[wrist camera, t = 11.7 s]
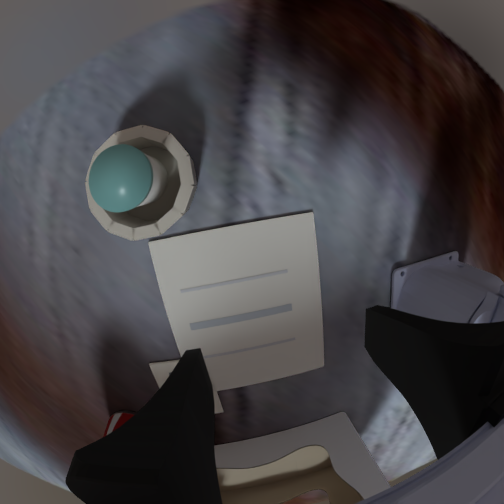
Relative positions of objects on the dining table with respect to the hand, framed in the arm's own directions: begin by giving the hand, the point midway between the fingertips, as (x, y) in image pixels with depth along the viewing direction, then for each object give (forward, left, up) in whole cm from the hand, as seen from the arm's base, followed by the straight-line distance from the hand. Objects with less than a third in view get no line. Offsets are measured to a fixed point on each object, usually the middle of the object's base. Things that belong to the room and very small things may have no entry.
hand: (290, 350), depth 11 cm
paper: (+1, +3, -10) cm, 10 cm away
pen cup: (+6, -8, -10) cm, 14 cm away
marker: (+6, -8, -9) cm, 14 cm away
